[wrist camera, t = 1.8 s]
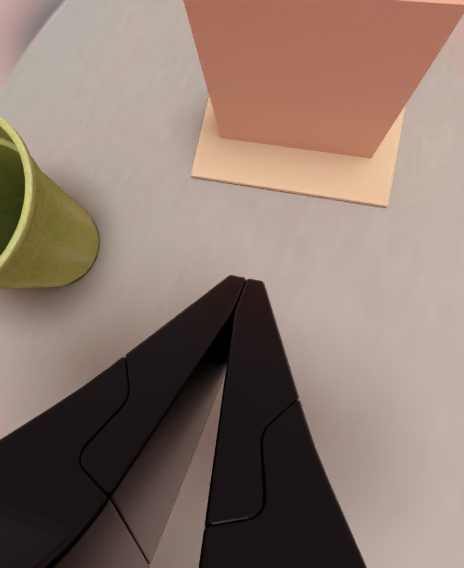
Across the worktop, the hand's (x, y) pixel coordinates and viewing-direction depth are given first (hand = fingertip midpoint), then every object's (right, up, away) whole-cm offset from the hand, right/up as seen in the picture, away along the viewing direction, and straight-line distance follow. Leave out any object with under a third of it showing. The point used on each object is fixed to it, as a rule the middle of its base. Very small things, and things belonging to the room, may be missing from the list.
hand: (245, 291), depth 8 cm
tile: (+4, +10, +13) cm, 17 cm away
